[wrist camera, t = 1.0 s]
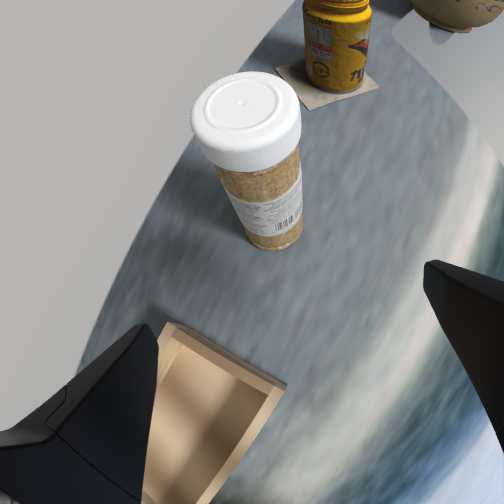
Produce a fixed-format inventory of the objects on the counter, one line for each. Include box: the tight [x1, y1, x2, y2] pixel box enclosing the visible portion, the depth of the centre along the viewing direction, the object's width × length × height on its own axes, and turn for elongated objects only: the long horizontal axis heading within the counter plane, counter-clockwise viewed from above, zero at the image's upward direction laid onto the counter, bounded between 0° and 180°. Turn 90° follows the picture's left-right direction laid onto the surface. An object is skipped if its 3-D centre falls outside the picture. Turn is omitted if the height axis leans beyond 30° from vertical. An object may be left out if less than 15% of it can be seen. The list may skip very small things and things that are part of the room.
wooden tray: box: [143, 322, 287, 504], centre depth 18 cm, size 26×9×4 cm, turn 151°
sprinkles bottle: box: [190, 72, 303, 251], centre depth 18 cm, size 5×5×13 cm
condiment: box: [275, 0, 380, 111], centre depth 23 cm, size 7×8×12 cm
